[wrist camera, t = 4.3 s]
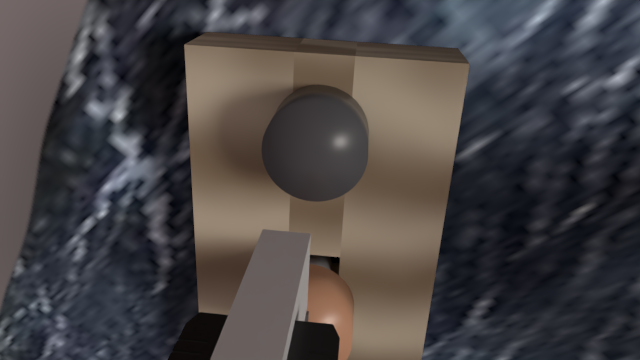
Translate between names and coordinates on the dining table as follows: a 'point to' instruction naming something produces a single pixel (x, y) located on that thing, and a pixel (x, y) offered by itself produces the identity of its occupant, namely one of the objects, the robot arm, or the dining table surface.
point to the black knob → (316, 144)
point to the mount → (347, 210)
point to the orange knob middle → (330, 301)
